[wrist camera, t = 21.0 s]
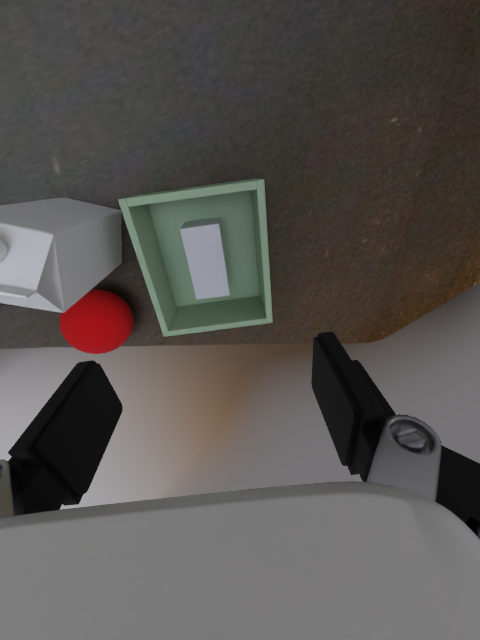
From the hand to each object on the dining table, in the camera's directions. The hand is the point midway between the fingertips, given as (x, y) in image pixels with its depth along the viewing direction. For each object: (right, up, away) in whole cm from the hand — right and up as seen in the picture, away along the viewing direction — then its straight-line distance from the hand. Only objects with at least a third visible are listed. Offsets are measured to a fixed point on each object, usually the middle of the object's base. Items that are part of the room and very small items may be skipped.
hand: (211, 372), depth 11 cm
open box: (-3, +12, +24) cm, 27 cm away
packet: (-3, +12, +24) cm, 26 cm away
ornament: (-17, +4, +20) cm, 26 cm away
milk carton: (-18, +14, +22) cm, 32 cm away
